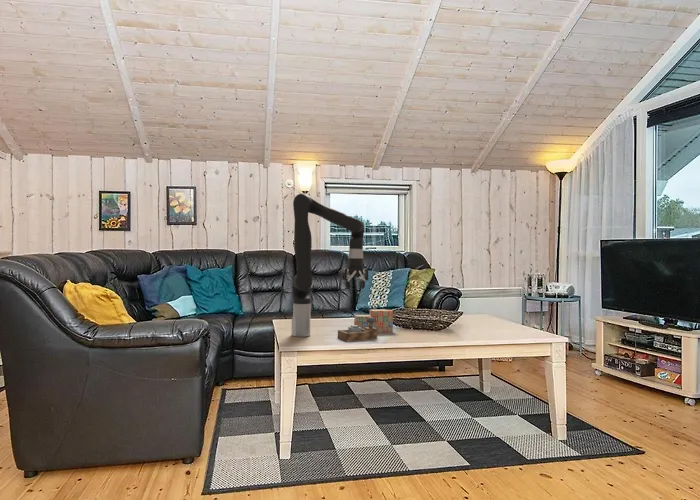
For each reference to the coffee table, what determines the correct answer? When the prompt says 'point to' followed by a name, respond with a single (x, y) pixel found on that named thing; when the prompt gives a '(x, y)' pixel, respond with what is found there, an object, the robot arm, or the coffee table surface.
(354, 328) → the block
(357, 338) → the chassis
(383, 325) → the stack of blocks
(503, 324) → the coffee table surface
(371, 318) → the wheel
